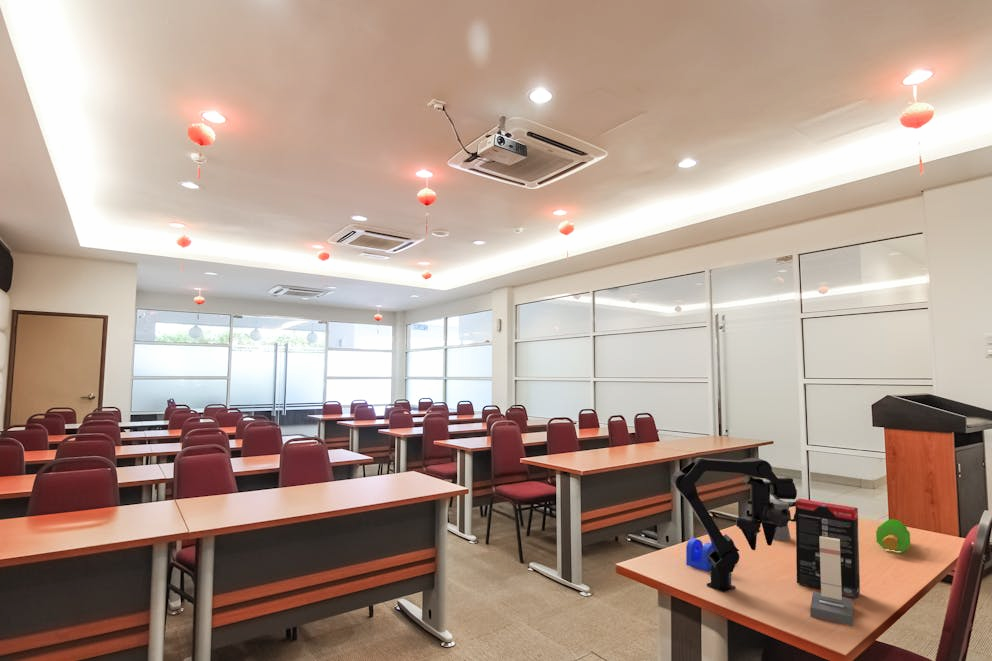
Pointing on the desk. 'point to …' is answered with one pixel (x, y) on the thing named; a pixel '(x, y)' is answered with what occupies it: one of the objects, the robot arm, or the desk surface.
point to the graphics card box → (832, 524)
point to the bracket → (698, 554)
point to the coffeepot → (783, 532)
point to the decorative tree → (893, 535)
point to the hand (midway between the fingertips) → (761, 547)
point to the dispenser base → (832, 609)
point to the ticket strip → (830, 567)
